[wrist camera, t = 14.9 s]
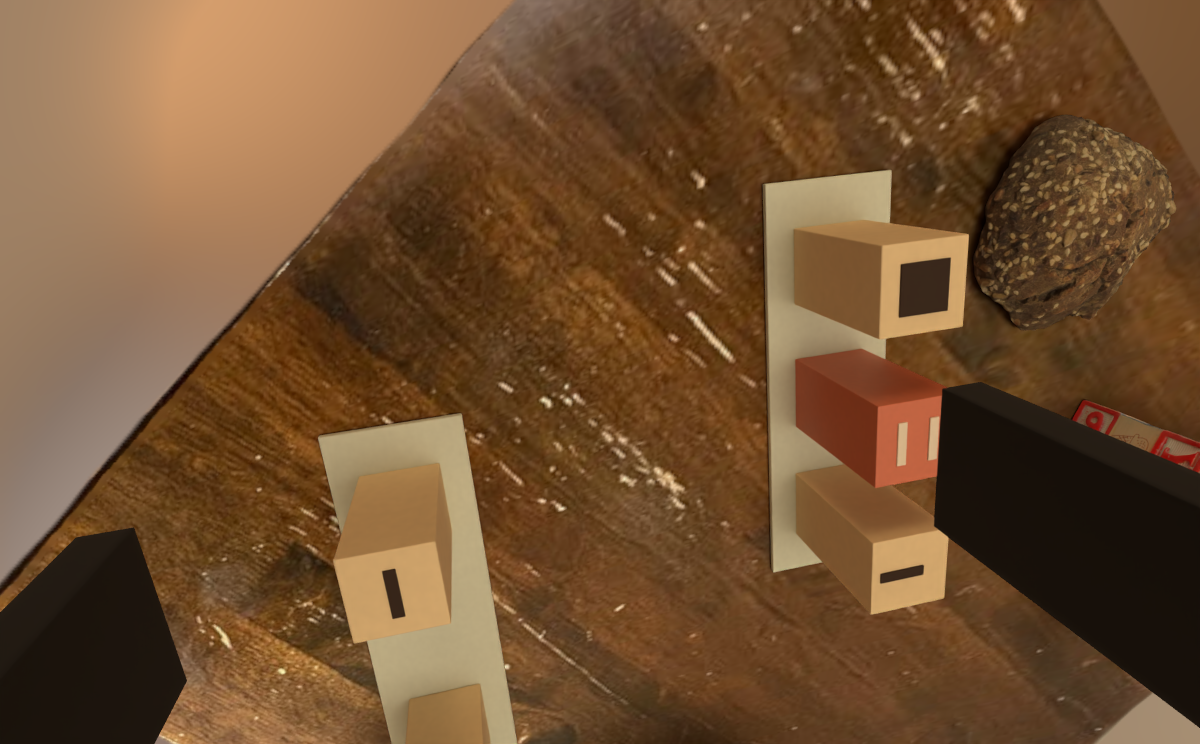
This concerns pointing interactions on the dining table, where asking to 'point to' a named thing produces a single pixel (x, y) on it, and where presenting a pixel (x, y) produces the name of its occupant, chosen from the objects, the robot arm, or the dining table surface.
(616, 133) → the dining table surface
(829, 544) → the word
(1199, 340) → the dining table surface
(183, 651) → the dining table surface
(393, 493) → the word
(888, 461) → the equals sign block
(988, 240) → the bread roll
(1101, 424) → the stack of blocks
